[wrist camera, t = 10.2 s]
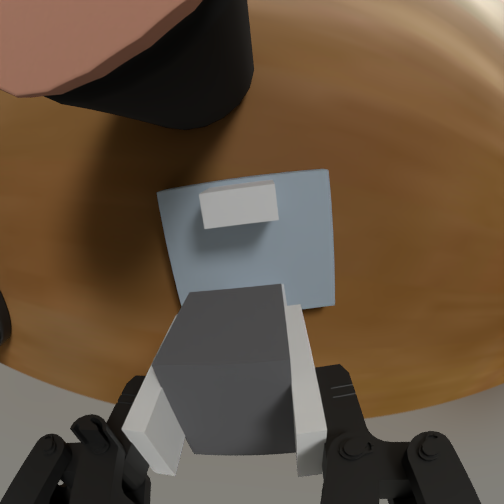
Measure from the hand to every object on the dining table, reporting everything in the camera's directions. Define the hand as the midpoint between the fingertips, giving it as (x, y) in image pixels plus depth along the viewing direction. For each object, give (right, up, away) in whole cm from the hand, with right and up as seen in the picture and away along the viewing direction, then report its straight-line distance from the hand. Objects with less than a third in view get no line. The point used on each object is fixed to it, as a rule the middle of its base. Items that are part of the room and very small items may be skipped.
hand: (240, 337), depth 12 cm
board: (0, +4, +13) cm, 14 cm away
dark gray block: (0, 0, +1) cm, 1 cm away
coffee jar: (-5, +19, +9) cm, 22 cm away
